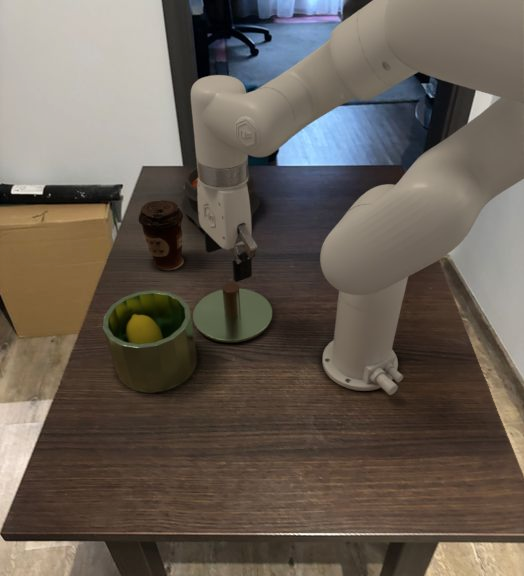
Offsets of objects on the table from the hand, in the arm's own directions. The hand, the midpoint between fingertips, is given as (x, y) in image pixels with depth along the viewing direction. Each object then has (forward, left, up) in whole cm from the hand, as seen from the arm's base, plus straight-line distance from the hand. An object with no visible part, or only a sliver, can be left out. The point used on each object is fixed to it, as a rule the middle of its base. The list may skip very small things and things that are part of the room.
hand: (228, 263), depth 90 cm
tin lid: (0, 0, -12) cm, 12 cm away
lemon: (-3, +17, -11) cm, 20 cm away
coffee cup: (+23, +3, -12) cm, 26 cm away
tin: (-3, +17, -12) cm, 21 cm away
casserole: (+36, -17, -12) cm, 42 cm away
